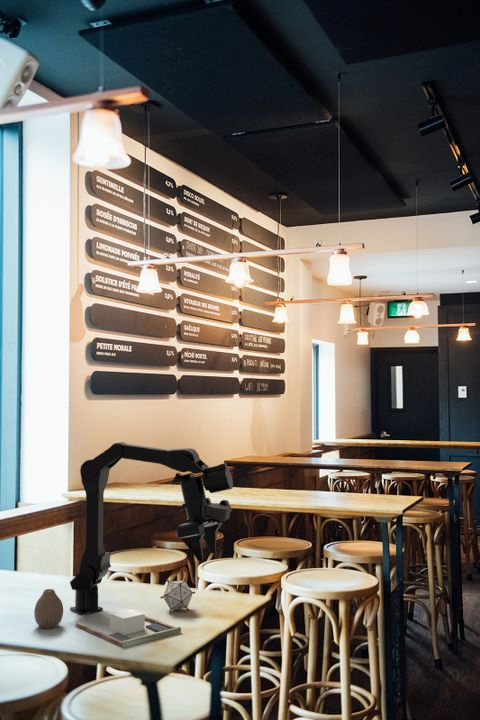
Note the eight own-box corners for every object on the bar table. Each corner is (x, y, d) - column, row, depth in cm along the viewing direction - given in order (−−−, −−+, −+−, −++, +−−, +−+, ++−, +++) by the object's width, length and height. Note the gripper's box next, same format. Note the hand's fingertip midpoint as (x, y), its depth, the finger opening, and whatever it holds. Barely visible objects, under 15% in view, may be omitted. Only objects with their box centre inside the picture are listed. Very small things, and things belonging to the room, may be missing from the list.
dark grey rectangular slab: (106, 637, 179) (106, 635, 179) (155, 625, 188) (155, 623, 188) (120, 643, 175) (120, 641, 175) (170, 630, 184) (170, 628, 184)
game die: (182, 626, 200) (188, 601, 194) (153, 612, 202) (158, 587, 196) (196, 601, 207) (202, 577, 202) (167, 589, 209) (173, 564, 204)
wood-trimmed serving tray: (75, 626, 188) (75, 621, 188) (131, 613, 198) (131, 608, 198) (123, 647, 172) (123, 642, 172) (180, 632, 182) (180, 627, 183)
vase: (38, 621, 191) (39, 586, 192) (66, 622, 191) (66, 586, 192) (30, 630, 184) (30, 593, 185) (58, 630, 184) (59, 593, 185)
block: (109, 629, 185) (110, 613, 186) (130, 624, 189) (130, 608, 190) (123, 635, 181) (123, 618, 181) (144, 630, 185) (144, 613, 185)
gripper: (210, 496, 186) (224, 560, 184) (234, 486, 204) (247, 544, 202) (169, 505, 189) (182, 567, 188) (196, 493, 207) (209, 551, 206)
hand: (207, 557), depth 196 cm, fingers open, 9 cm apart
